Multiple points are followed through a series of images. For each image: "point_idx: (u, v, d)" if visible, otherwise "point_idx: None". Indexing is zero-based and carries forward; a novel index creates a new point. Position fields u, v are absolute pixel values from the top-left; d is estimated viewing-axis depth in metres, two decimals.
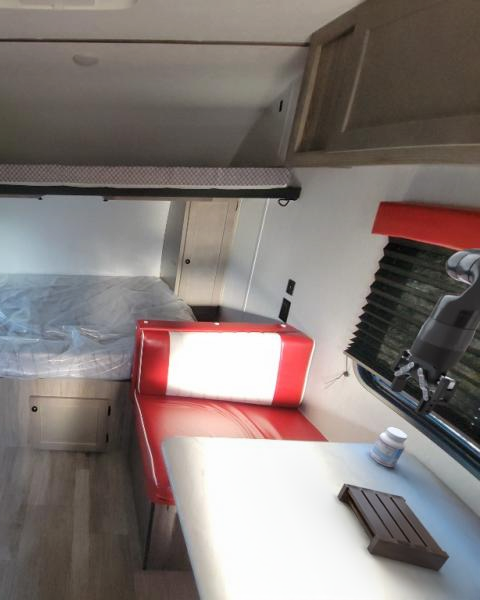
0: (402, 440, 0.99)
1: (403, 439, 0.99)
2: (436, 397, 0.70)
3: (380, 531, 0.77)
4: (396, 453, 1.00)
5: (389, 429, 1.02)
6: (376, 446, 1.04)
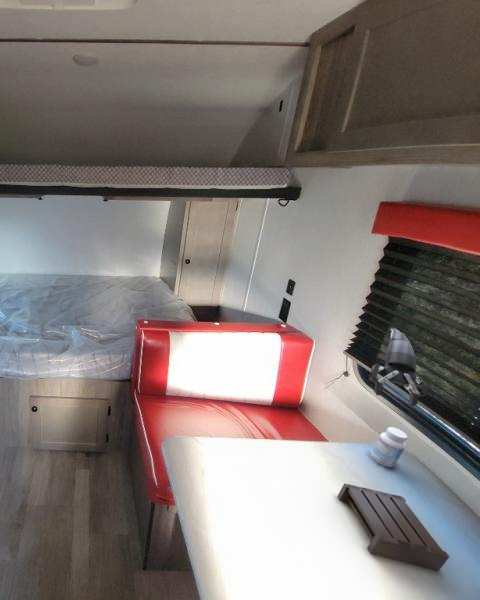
0: (402, 440, 0.99)
1: (403, 439, 0.99)
2: None
3: (380, 531, 0.77)
4: (396, 453, 1.00)
5: (389, 429, 1.02)
6: (376, 446, 1.04)
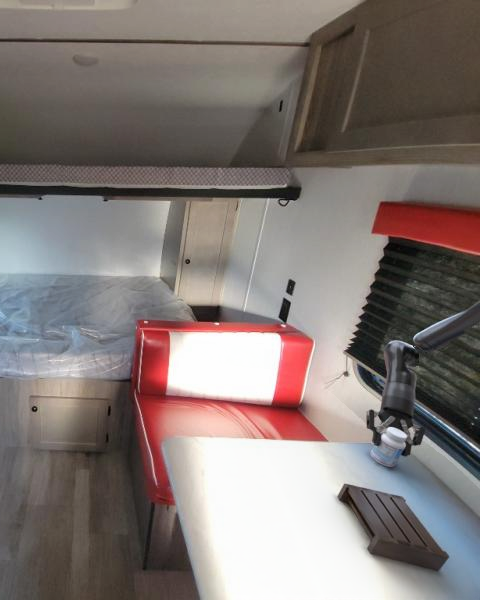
0: (402, 440, 0.99)
1: (403, 439, 0.99)
2: None
3: (380, 531, 0.77)
4: (396, 453, 1.00)
5: (389, 429, 1.02)
6: (376, 446, 1.04)
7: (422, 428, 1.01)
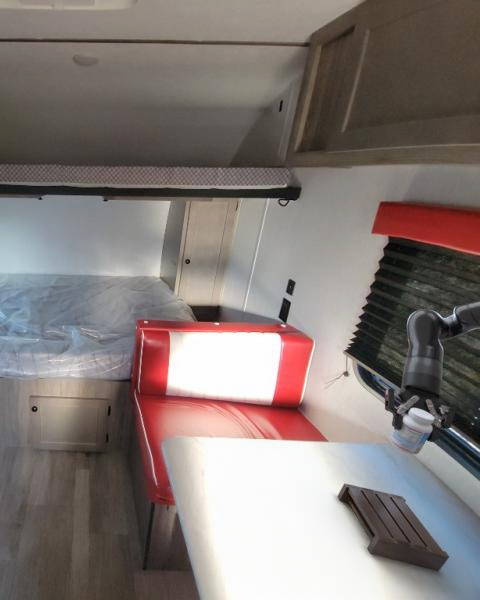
0: (428, 422, 0.84)
1: (430, 421, 0.84)
2: None
3: (380, 531, 0.77)
4: (422, 438, 0.85)
5: (412, 410, 0.87)
6: (397, 430, 0.90)
7: (452, 409, 0.86)
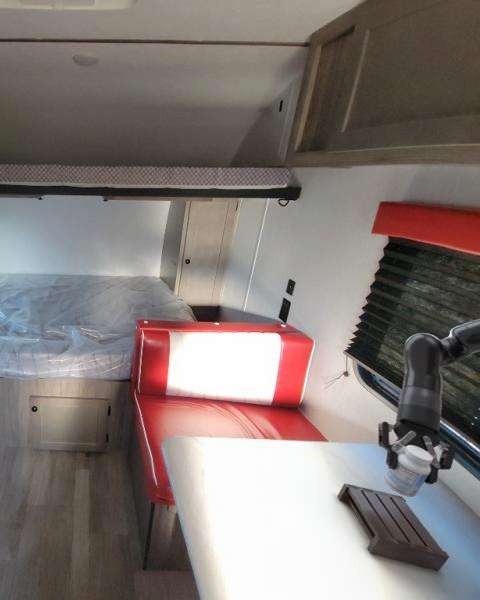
0: (426, 463, 0.76)
1: (428, 462, 0.76)
2: None
3: (380, 531, 0.77)
4: (419, 480, 0.77)
5: (409, 448, 0.79)
6: (391, 469, 0.81)
7: (452, 447, 0.78)
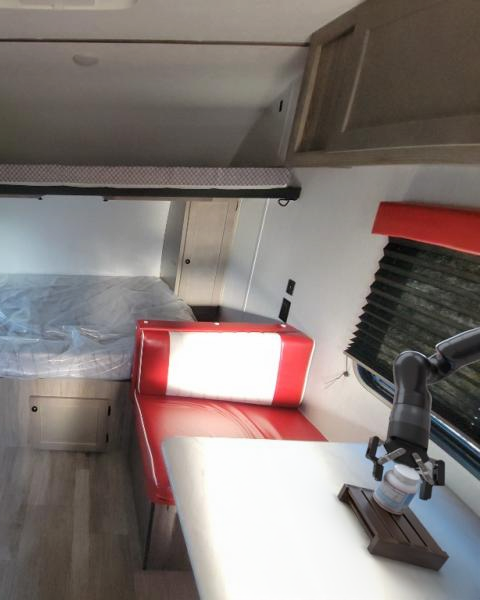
0: (414, 482, 0.78)
1: (415, 481, 0.78)
2: None
3: (380, 531, 0.77)
4: (406, 498, 0.79)
5: (397, 467, 0.81)
6: (380, 487, 0.83)
7: (441, 462, 0.80)
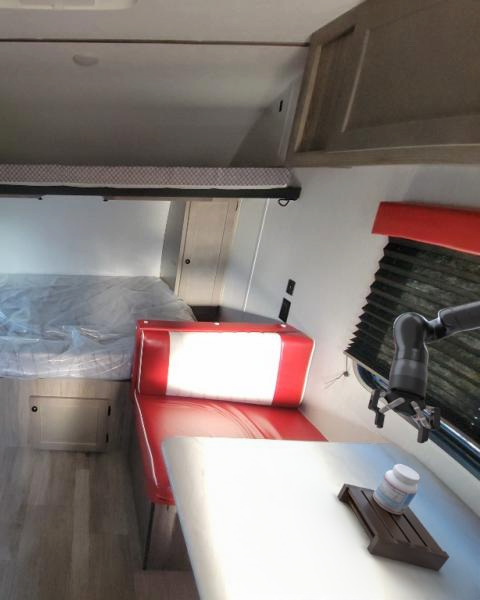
0: (414, 482, 0.78)
1: (415, 481, 0.78)
2: None
3: (380, 531, 0.77)
4: (406, 498, 0.79)
5: (397, 467, 0.81)
6: (380, 487, 0.83)
7: (437, 409, 0.88)
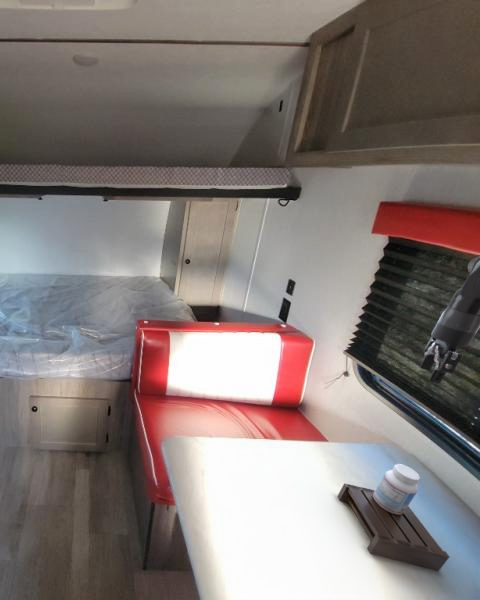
0: (414, 482, 0.78)
1: (415, 481, 0.78)
2: (441, 366, 0.90)
3: (380, 531, 0.77)
4: (406, 498, 0.79)
5: (397, 467, 0.81)
6: (380, 487, 0.83)
7: None
